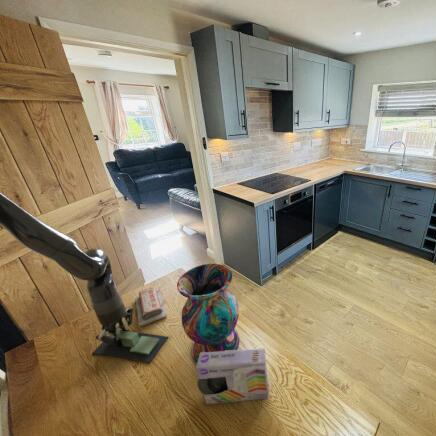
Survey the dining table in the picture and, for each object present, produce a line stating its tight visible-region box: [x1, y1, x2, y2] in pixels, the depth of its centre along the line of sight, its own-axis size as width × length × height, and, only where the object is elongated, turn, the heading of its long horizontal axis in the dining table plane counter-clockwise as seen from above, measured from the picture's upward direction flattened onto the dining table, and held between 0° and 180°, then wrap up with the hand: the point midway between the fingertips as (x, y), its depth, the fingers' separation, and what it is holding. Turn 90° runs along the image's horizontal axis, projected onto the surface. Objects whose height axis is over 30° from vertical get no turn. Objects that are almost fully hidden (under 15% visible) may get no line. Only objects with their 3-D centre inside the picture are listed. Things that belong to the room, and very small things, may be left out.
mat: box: [91, 330, 169, 364], centre depth 86 cm, size 22×10×1 cm, turn 82°
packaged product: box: [134, 287, 168, 328], centre depth 101 cm, size 18×5×10 cm
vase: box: [176, 263, 240, 363], centre depth 80 cm, size 18×18×30 cm
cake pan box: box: [195, 347, 269, 405], centre depth 68 cm, size 19×5×18 cm, turn 94°
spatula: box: [107, 329, 159, 355], centre depth 84 cm, size 18×6×4 cm, turn 82°
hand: (123, 341), depth 85 cm, fingers closed on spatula, 3 cm apart
